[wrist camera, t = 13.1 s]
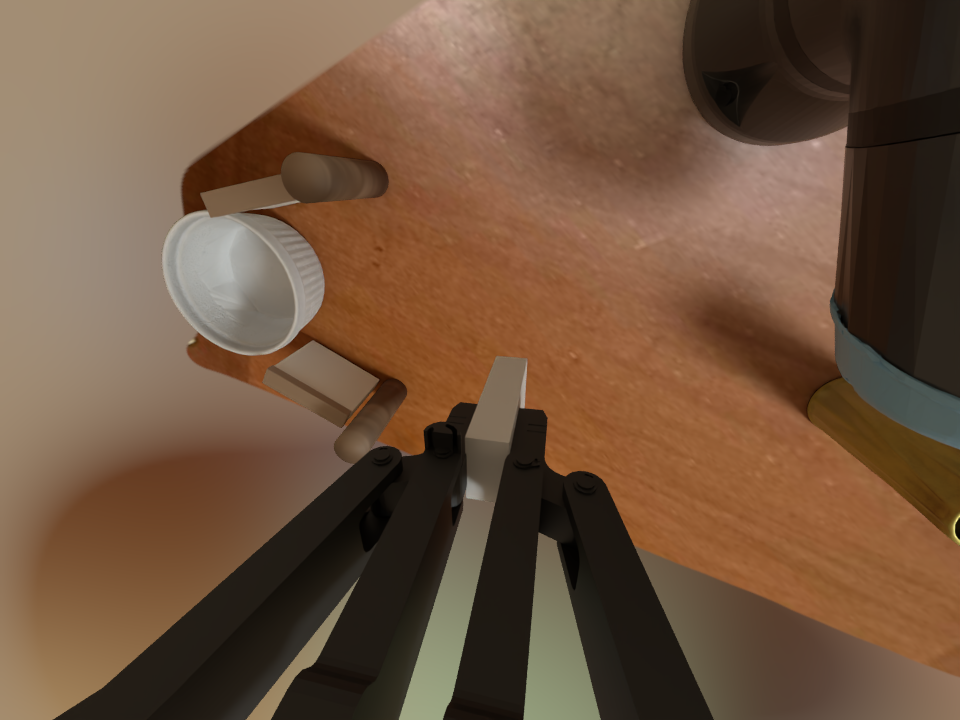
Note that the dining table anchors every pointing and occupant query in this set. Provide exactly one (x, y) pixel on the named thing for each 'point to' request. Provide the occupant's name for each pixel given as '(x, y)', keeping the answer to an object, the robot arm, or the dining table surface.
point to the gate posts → (334, 182)
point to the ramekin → (242, 279)
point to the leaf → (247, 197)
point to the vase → (893, 453)
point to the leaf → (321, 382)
